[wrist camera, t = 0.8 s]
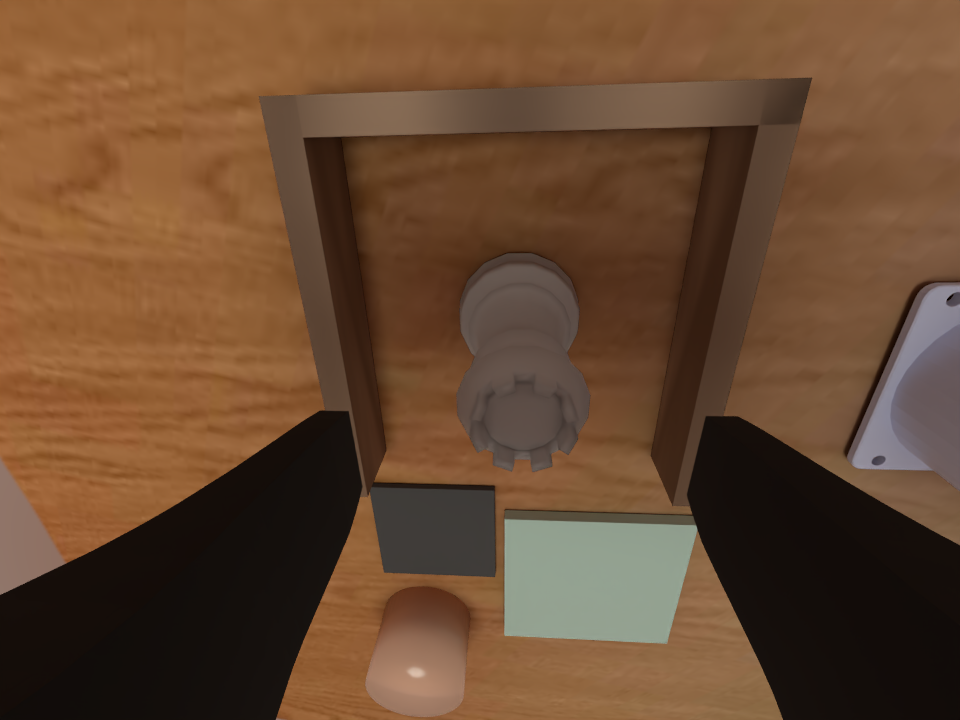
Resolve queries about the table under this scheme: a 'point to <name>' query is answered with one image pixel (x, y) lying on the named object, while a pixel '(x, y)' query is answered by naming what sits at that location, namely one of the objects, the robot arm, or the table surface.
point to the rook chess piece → (521, 361)
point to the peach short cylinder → (420, 653)
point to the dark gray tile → (435, 528)
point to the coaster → (594, 574)
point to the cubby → (718, 104)
